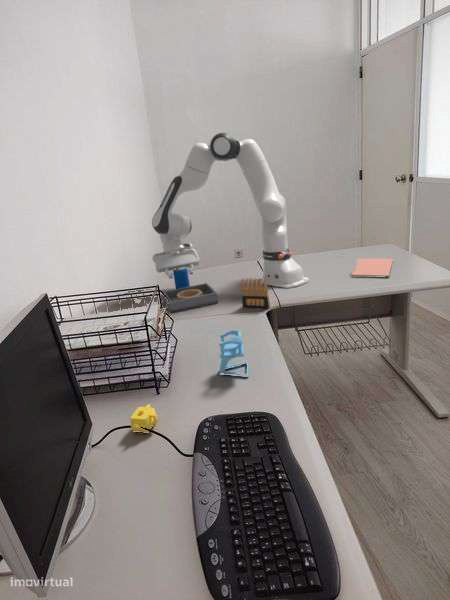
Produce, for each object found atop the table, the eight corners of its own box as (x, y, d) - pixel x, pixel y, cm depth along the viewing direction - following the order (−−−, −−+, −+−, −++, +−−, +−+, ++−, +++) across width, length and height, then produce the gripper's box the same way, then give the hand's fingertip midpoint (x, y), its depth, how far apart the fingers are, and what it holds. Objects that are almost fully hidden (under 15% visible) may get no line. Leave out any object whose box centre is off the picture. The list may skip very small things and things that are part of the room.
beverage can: (176, 291, 189) (172, 267, 185) (190, 290, 189) (187, 265, 185) (176, 296, 183) (172, 270, 179) (190, 294, 183) (186, 269, 179)
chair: (220, 366, 118) (215, 328, 114) (248, 363, 118) (244, 326, 114) (219, 380, 111) (213, 340, 107) (249, 377, 111) (245, 338, 106)
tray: (164, 301, 178) (162, 291, 176) (208, 292, 183) (206, 283, 181) (171, 313, 163) (169, 302, 162) (218, 303, 169) (217, 292, 167)
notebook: (356, 261, 205) (356, 258, 204) (392, 262, 198) (392, 258, 197) (348, 278, 182) (348, 274, 181) (389, 279, 175) (389, 274, 174)
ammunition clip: (270, 307, 158) (267, 277, 154) (268, 309, 156) (266, 279, 152) (244, 306, 162) (241, 277, 158) (242, 308, 160) (239, 279, 156)
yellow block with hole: (151, 442, 90) (147, 422, 88) (128, 439, 91) (123, 420, 90) (165, 419, 97) (162, 401, 95) (143, 418, 99) (140, 399, 97)
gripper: (151, 250, 183) (158, 276, 177) (195, 243, 188) (203, 268, 182) (151, 258, 188) (158, 283, 183) (194, 250, 193) (202, 275, 188)
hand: (181, 275), depth 182 cm, fingers open, 8 cm apart
